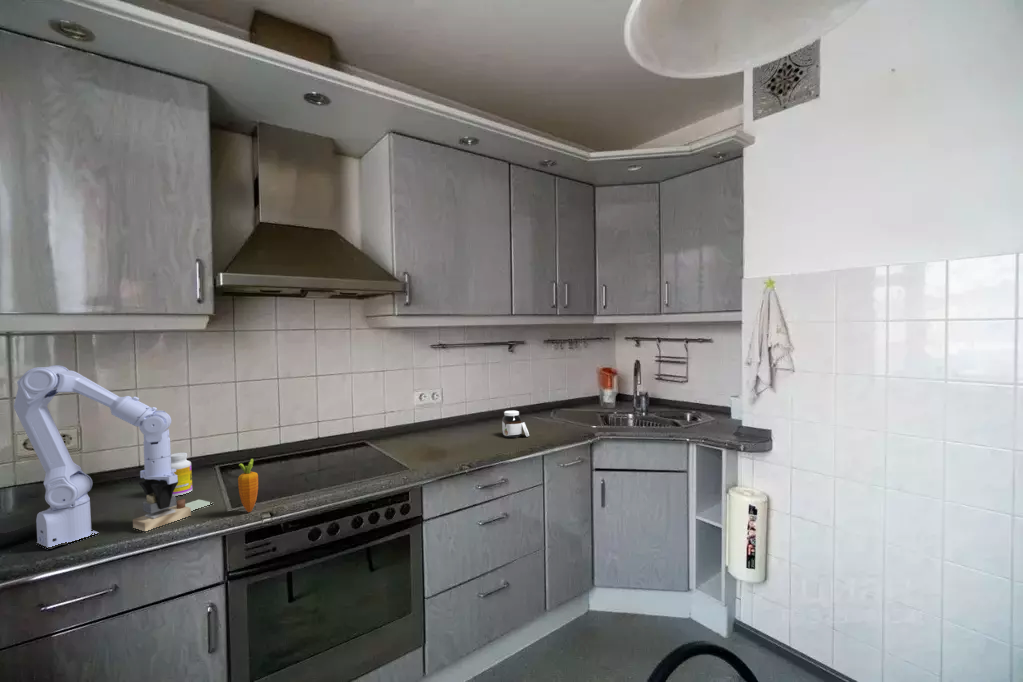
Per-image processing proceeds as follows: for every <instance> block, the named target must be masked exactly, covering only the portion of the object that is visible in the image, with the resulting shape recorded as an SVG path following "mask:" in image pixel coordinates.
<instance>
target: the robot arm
mask: <svg viewBox="0 0 1023 682" xmlns="http://www.w3.org/2000/svg"><path fill="white" fill-rule="evenodd" d="M16 384H17V391H16V395H15V399H14V404H13V409H14V411H15V414H16V415H17V418H18V419H19V421H20V423H21V426H22V427H23V429H24V432H25V434H26V436H27V438H28V439H29V442H30V444H31V446H32V448H33V450H34V452H35V454H36V457H37V458H38V461H39V463H40V464H41V466H42V469H43V470H44V472H45V474H44V475H45V476H44V478H43V479H44V481H43V485H44V489H45V494H44V499H45V502H46V503H47V504H48V505H49V506H50V507H48V508H47V509H45V510H42V511H40V512H38V513H37V515H36V519H35V520H36V521H35V523H36V539H37V542H36V543H39V544H41V545H43V546H46V547H47V548H48V547H52V546H55V545H58V544H61V543H65V542H67V543H68V542H72V541H75V540H79V539H81V538H84V537H88V536H90V535H91V534H92V533H93V534H92V535H94V533H95V534H97V533H99V532H98V531H96V530H93V529H92V517H91V514H92V513H91V499H90V496H89V494H88V492H90V491H91V490H92V488H93V483H94V482H93V479H92V478H91V476H90V475H89V474H87V473H86V472H84V471H83V469H82V467H81V466H80V465H79V464H77V463H75V462H74V461H73V459H72V457H71V454H70V452H69V450H68V448H67V446H66V444H65V442H64V440H63V437H62V435H61V434H60V432H59V429H58V427H57V425H56V423H55V421H54V419H53V417H52V415H51V412H50V410H49V408H48V405H49V404H50V403H51V401H52V400H53V399H54V397H55V396H56V395H57V394H59V393H76V394H79V395H82V396H83V397H86V398H88V399H90V400H92V401H94V402H97V403H99V404H102V405H103V406H106V407H108V408H109V409H110V414H111V415H112V416H114V417H117V418H118V419H120V420H122V421H124V422H125V423H128V424H130V425H132V426H135V427H138V428H139V430H140V432H141V433H142V434H143V442H142V443H143V458H144V459H143V463H144V469H143V470H140V471H139V475H140V479H144V480H143V481H139V482H138V485H139V486H140V487H141V488H142V490H143V492H144V494H145V496H146V497H147V495H148V494H152V493H155V494H156V497H157V502H158V506H159V509H164V508H167V507H169V506H170V502H171V498H172V494H173V491H174V489H175V487H176V485H177V484H178V479H177V475H175V474H174V472H176V469H171V455H172V451H171V448H172V447H171V438H170V426H171V424H172V418H171V415H170V414H169V413H167V412H166V411H165V410H161V409H160V410H159V409H158V408H157V407H155V406H152V407H151V406H149V405H148V404H145V403H144V402H141V401H140V397H137V396H133V397H132V396H130V395H126V396H119V395H117V394H116V393H115V392H112V391H111V390H108V389H107V388H105V387H103V386H101V385H100V384H98V383H96V382H94V381H93V380H91V379H89V378H88V377H86V376H84V375H82V374H81V373H79V372H77V371H76V370H75V371H74V370H69V369H68V368H67V367H66V366H63V365H59V364H58V365H57V364H56V365H50V366H44V367H41V366H39V367H33V368H30V369H29V370H27V371H25V373H23V375H22V376H21V377H20V378H19V379H18V380H17V381H16ZM91 530H93V531H91ZM99 534H100V533H99ZM53 539H55V541H53Z"/></svg>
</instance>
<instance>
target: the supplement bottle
mask: <svg viewBox="0 0 1023 682" xmlns="http://www.w3.org/2000/svg"><path fill="white" fill-rule="evenodd" d="M187 458H188V453H187V452H175V453H171V469H176V472H174V474H175V475H177V479H178V484H177V485H176V487H175V489H174V491H173V494H172V496H178V495H183V494H186V493H189V492H191V491H192V492H193V475H192V474H193V472H192V462H191V461H190V460H187ZM192 492H191V493H192ZM189 494H190V493H189ZM186 495H187V494H186ZM183 496H184V495H183ZM178 497H179V496H178Z"/></svg>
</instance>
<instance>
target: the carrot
mask: <svg viewBox="0 0 1023 682" xmlns="http://www.w3.org/2000/svg"><path fill="white" fill-rule="evenodd" d="M253 465H254V458H250V461H249V462H248V464H247V465H244V464H243V463H239V464H238V467H240V469H241V470H242V471H243V472H242V473H241V474H240V475H239V476H238V478H237V484H238V493H239V497H240V501H241V504H242V506H243V508H244V509H245V511H246V512H247V513H249V512H250V513H251V512H252V511H253V509H254V507H255V505H256V502H257V497H258V492H259V475H258V473H257V472H255V471H251V470H252V468H253V467H254V466H253Z"/></svg>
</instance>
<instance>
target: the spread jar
mask: <svg viewBox="0 0 1023 682" xmlns="http://www.w3.org/2000/svg"><path fill="white" fill-rule="evenodd" d="M503 414H504V416H503V417H502V421H501V422H502V423H501V425H502V426H501V427H502V434H503V437H504V438H506V439H517V438H516V437H518V438H520V437H521V435H522V433H523V432H524V434H525V437H526V438H527V437H530V433H529V430H528V428H527V424H526V422H525V421H524V422H522V418H521V416H520V411H518V410H505V411H503Z"/></svg>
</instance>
